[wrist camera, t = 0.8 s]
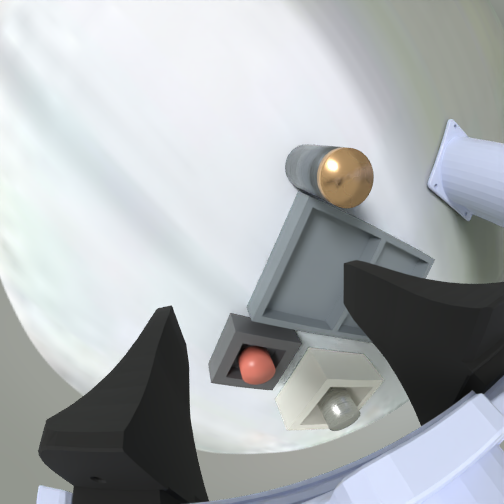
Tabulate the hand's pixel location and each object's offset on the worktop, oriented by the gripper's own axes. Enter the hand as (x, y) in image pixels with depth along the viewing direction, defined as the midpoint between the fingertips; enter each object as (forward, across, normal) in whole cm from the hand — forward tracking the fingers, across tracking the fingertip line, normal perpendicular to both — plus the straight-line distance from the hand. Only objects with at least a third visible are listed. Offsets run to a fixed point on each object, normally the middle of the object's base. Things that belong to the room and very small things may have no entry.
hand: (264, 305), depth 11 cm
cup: (+10, -7, +19) cm, 23 cm away
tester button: (+9, 0, +11) cm, 14 cm away
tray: (+10, -10, +7) cm, 16 cm away
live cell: (+10, -6, -4) cm, 13 cm away
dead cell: (+10, -7, +19) cm, 22 cm away
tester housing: (+10, 0, +11) cm, 15 cm away
